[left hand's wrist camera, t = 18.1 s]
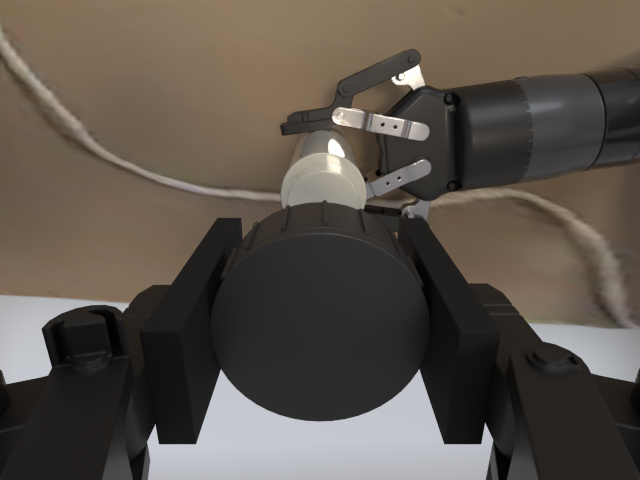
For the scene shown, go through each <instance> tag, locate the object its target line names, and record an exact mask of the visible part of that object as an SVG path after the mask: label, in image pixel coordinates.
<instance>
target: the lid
mask: <svg viewBox="0 0 640 480" xmlns="http://www.w3.org/2000/svg"><path fill="white" fill-rule="evenodd" d="M220 279H222V280H223V281H222V283H221V285H220V287H219V289H218V291H217V293H216V296H215V298H214V302H213V305H212V308H211V315H210V328H211V338H212V347H213V351H214V354H215V357H216V359H217V361H218V364H219V366H220V368H221V369H222V371H223V372H224V374H225V375H226V377H227V378H228V380H229V381H230V382H231V383H232V384H233V385H234V386H235V388H236V389H237V390H239V391H240V392H241V393H242V394H243V395H244V396H246V397H247V398H248V399H250V400H251V401H253V402H254V403H256V404H257V405H259V406H261V407H263V408H265V409H267V410H269V411H271V412H274V413H276V414H279V415H282V416H286V417H289V418H293V419H299V420H306V421H334V420H341V419H347V418H351V417H355V416H358V415H361V414H364V413H367V412H369V411H371V410H373V409H375V408H377V407H380V406H381V405H383V404H384V403H386V402H388V401H389V400H391V399H392V398H393V397H395V396H396V395H397V394H398V393H399V392H401V391H402V390H403V389H404V388H405V387H406V386H407V385H408V383H409V382H410V381H411V380H412V378H413V377H414V376H415V374H416V373H417V372H418V370H419V368H420V366H421V364H422V362H423V360H424V357H425V355H426V352H427V349H428V340H429V331H430V312H429V308H428V304H427V300H426V298H425V295H424V293H423V291H422V288H423V287H424V284H423V282H422V280H421V278H420V276H419V274H418V272H417V270H416V268H415V266H414V264H413V262H412V259H411V257H410V255H408V256H406V254H405V252H404V250H403V248H402V246H401V245H400V243H399V242H398V240H397V239H396V236H395V234H394V232H393V230H392V229H391V228H389V229H388V228H386V227H385V226H384V225H383V224H382V223H381V222H379V221H378V220H376V219H375V218H374V217H372V216H371V215H369V214H367V213H365V212H364V210H363V209H361V208H359V210H358V209H355V208H353V207H350V206H346V205H342V204H337V203H328V202H327V200H323V202H312V203H304V204H298V205H294V206H291V207H290V205H287V206H286V207H285V208H284V209H282V210H280V211H278V212H276V213H273V214H272V215H270V216H268V217H267V218H265V219H264V220H262V221H261V222H260V223H258V222H256V223H254V225H253V228H252V230H251V231H250V232H249V233H248V234H247V235H246V236H245V238H244V239H243V241H242V242H241V243H240V245H239V246H238V248H234V250H233V252H232V254H231V256H230V258H229V260H228V262H227V264H226V266H225V268H224V270H223V272H222V274H221V276H220Z"/></svg>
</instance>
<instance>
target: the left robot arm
mask: <svg viewBox="0 0 640 480" xmlns="http://www.w3.org/2000/svg"><path fill="white" fill-rule="evenodd" d="M242 241H243V239H242V225H241V218H217V220H216V221H215V223H214V224H213V225H212V227H211V228H210V230H209V231H208V233H207V234H206V236H205V237H204V238H203V240H202V241H201V243H200V244H199V246H198V247H197V249H196V250H195V251H194V253H193V254H192V256H191V257H190V259H189V260H188V262H187V263H186V264H185V266H184V267H183V269H182V270H181V272H180V273H179V275H178V276H177V277H176V279H175V280H174V282H173V283H172V285H152V286H151V287H149V288H147V289H146V290H144V291H143V292H141V293H139V294H138V295H137V296H136V297H135V298H134V300H133V301H132V302H131V303H130V305H129V308H126V309H125V311H124V312H123V313H122V312H121V311H120V310H119V309H117V308H116V307H112V306H107V305H91V306H86V307H81V308H76V309H73V310H70V311H68V312H65V313H62V314H60V315H58V316H57V317H55V318H53V319H52V320H50V321H49V322H48V323H47V324H46V325H45V326H44V327H43V328H42V332H43V336H44V339H45V343H46V347H47V350H48V354H49V358H50V361H51V365H52V369H51V371H50V373H49V375H48V376H45V377H41V378H36V379H31V380H26V381H21V382H16V383H11V384H6V382H5V379H4V376H3V373H2V371H1V370H0V480H148V473H149V464H150V457H149V450H148V445H147V441H148V438H149V436H150V434H151V432H152V430H153V428H154V426H155V424H156V429H157V435H158V440H159V444H196V442H197V439H198V436H199V433H200V430H201V427H202V424H203V421H204V418H205V415H206V412H207V409H208V406H209V403H210V400H211V397H212V394H213V391H214V388H215V385H216V382H217V379H218V376H219V373H220V370H221V368H220V366H219V364H218V361H217V359H216V357H215V354H214V351H213V347H212V338H211V328H210V315H211V308H212V305H213V302H214V298H215V296H216V293H217V291H218V289H219V287H220V285H221V283H222V281H223V280H222V279H220V276H221V274H222V272H223V270H224V268H225V266H226V264H227V262H228V260H229V258H230V256H231V254H232V252H233V250H234V248H238V246H239V245H240V243H241V242H242ZM398 242H399V243H400V245H401V246H402V248H403V250H404V252H405V254H406V256H408V255H410V257H411V259H412V262H413V264H414V266H415V268H416V270H417V272H418V274H419V276H420V278H421V280H422V282H423V284H424V287H423V288H422V291H423V293H424V295H425V298H426V300H427V304H428V308H429V312H430V331H429V340H428V349H427V352H426V355H425V357H424V360H423V362H422V364H421V366H420V368H419V369H420V372H421V375H422V378H423V381H424V384H425V387H426V390H427V393H428V396H429V399H430V402H431V405H432V408H433V411H434V414H435V417H436V420H437V423H438V426H439V429H440V432H441V435H442V438H443V441H444V444H481V442H482V436H483V431H484V425H485V423H486V425H487V427H488V429H489V431H490V434H491V436H492V438H493V445H492V450H491V456H490V461H489V466H488V471H487V476H486V480H640V369H639V371H638V374H637V377H636V380H635V383H634V382H629V381H624V380H619V379H614V378H609V377H604V376H599V375H595V374H591V372H590V370H589V368H588V367H587V365H586V364H585V363H584V362H583V360H582V359H581V358H580V357H578V356H577V355H575V354H574V353H572V352H571V351H569V350H567V349H565V348H562V347H560V346H558V345H555V344H551V343H546V342H543V341H542V340H541V339H540V338H539V337H538V335H537V334H536V333H535V332H534V330H533V329H532V328H531V327H530V326H529V324H528V323H527V322H526V321H525V319H524V318H523V317H522V316H521V315H519V312H518V311H517V310H516V308H515V307H514V306H512V304H511V302H510V301H509V300H508V299H507V297H506V296H505V295H504V294H503V293H502V292H500V291H499V290H497V289H495V288H494V287H492V286H490V285H489V284H468V283H467V281H466V280H465V278H464V277H463V276H462V274H461V273H460V271H459V270H458V268H457V267H456V265H455V264H454V263H453V261H452V260H451V258H450V257H449V255H448V254H447V252H446V251H445V250H444V248H443V247H442V245H441V244H440V242H439V241H438V239H437V238H436V237H435V235H434V234H433V232H432V231H431V229H430V228H429V226H428V225H427V224H426V222H425V221H424V219H423V218H399V229H398Z"/></svg>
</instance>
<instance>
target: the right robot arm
mask: <svg viewBox="0 0 640 480" xmlns="http://www.w3.org/2000/svg"><path fill="white" fill-rule="evenodd" d="M420 59H421V56H420V53H419V52H418V51H417V50H415V49H410V50H406V51H403V52H401V53H399V54H396V55H394V56H392V57H390V58H388V59H386V60H383V61H381V62H379V63H377V64H375V65H373V66H370V67H368V68H366V69H364V70H362V71H360V72H357V73H355V74H353V75H351V76H349V77H347V78H344V79H342V80H341V81H339V83H338V85H337V90H336V95H335V99H334V102H333V103H332V105H330V106H329V107H326V108H319V109H312V110H305V111H298V112H294V113H292V114H291V115H289V116H288V117H287V119H288V122H287V123H282V124H281V125H280V127H281V133H282V135H291V134H298V133H305V132H312V131H318V130H326V129H332V125H342V126H348V127H353V128H358V129H363V130H366V131H371V132H376V140H377V143H378V146H379V148H380V151H379V156H378V165H379V167H378V168H376V169H374V170H372V171H369V172H368V173H366V174H365V175H364V176H363V179H364V182H365V186H366V193H367V194H366V200H367V199H369V198H371V197H377V196H380V195H382V194H385V193H387V192H389V191H391V190H393V189H395V188H400V189H402V190H404V191H405V192H407V193H409V194H411V195H413V196H415V197H417V198H416V200H415V201H414V202H412V203H405V204H403V205H402V206H401V208H400V209H394V208H387V207H379V206H372V205H365V207H364V212H365V213H367V214H369V215H371V216H372V217H374V218H375V219H376V220H378V221H379V222H381V223H382V224H383V225H384V226H385V227H386V228H388V229H389V228H391V229H392V230H393V232H398V229H399V218H423V219H424V221H425V222H426V224H427V225H428V223H427V216H428V212H429V208H430V203H431V201H433V200H435V199H437V198H438V197H440V196H441V195H443V194H445V193H448V192H454V191H463V190H470V189H478V188H485V187H493V186H501V185H508V184H516V183H523V182H531V181H538V180H545V179H551V178H556V177H560V176H563V175H567V174H571V173H575V172H580V171H588V170H596V169H603V168H611V167H618V166H625V165H631V164H636V163H640V64H638V65H635V66H631V67H623V68H615V69H608V70H601V71H594V72H587V73H580V74H571V75H541V76H534V77H518V78H515V79H513V80H507V81H500V82H493V83H486V84H479V85H472V86H465V87H458V88H451V89H444V90H439V89H435V88H433V87H431V86H425V83H424V80H423V77H422V74H421V70H420V67H419V63H420ZM388 79H390V81H391V83H392V84H394V85H398V86H401V85H407V86H409V88H410V89H411V90H410V91H409V92H408V93H407V94H406V95H405V96H404V97H403V98H402V99H401V100H400V101H399V102H398V103H397V104H396V105H395V106H394V107H393V108H391V109H390V110H389V111H388V112H387V113H381V112H375V111H370V110H363V109H357V108H352V107H351V104H352V100H353V95H355V94H357V93H360V92H362V91H364V90H366V89H368V88H371V87H373V86H375V85H377V84H379V83H382V82H384V81H386V80H388ZM381 174H382V175H381ZM386 182H388V183H386ZM428 226H429V225H428Z"/></svg>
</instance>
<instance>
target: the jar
mask: <svg viewBox="0 0 640 480" xmlns="http://www.w3.org/2000/svg"><path fill="white" fill-rule="evenodd" d="M366 194H367V193H366V186H365V182H364V179H363V176H362V174H361V171H360V169H359V166H358V164H357V161H356V159H355V156H354V154H353V151H352V149H351V146H350V144H349V141H348V139H347V136H346V134H345V132H344V131H343V129H342V128H341V127H340V126H338V125H332V129H326V130H318V131H312V132H305V133H301V134H300V137H299V139H298V142H297V145H296V147H295V150H294V153H293V155H292V158H291V161H290V163H289V166H288V169H287V171H286V174H285V177H284V179H283V182H282V186H281V202H282V206H283V209H284V208H285V207H286V206H287V205H290V207H291V206H294V205H298V204H304V203H312V202H323V200H327V202H328V203H337V204H342V205H346V206H350V207H353V208H355V209H358V210H359V208H361V209H363V210H364V207H365V203H366Z"/></svg>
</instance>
